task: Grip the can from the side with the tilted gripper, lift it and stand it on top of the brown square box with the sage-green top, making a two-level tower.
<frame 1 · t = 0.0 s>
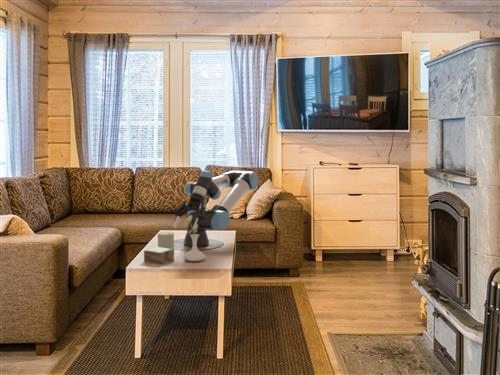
hand: (184, 228, 276), 15 cm above the table, tool tilted 35°, fingers open, 13 cm apart
flower in vase: (193, 261, 266), on the table
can: (165, 253, 282), on the table
brown square box: (159, 261, 264), on the table
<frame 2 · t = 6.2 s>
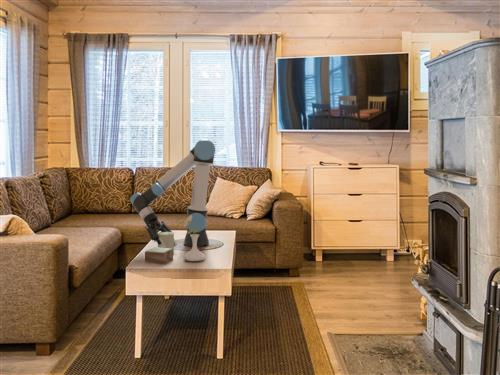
hand: (170, 247, 280), 4 cm above the table, tool tilted 45°, fingers closed on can, 9 cm apart
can: (165, 253, 282), on the table, touching gripper
when the fingers open (12 cm above the table, at t = 13.9 s): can drops 1 cm, resting on brown square box.
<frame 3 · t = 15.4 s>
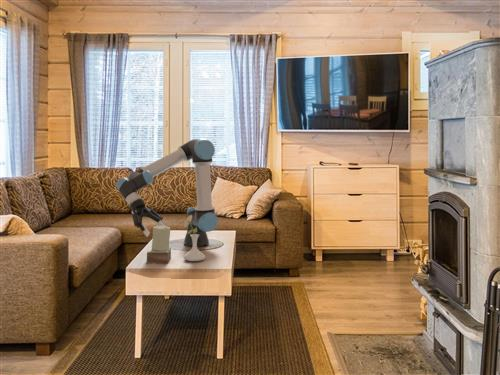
hand: (157, 233, 263), 15 cm above the table, tool tilted 45°, fingers open, 13 cm apart
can: (160, 249, 264), point 6 cm above the table, touching brown square box
brown square box: (159, 261, 264), on the table, touching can
everything else where it was.
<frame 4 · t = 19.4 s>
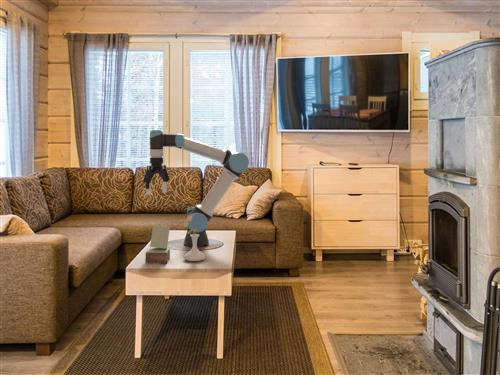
hand: (156, 193, 289), 33 cm above the table, tool pointing down, fingers open, 13 cm apart
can: (158, 247, 264), point 7 cm above the table
brown square box: (157, 261, 263), on the table
everything else where it was.
at the end: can 1.1 cm off-centre on the brown square box, point 7.2 cm above the brown square box's base; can tilted 12°; brown square box moved 0.8 cm from its start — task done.
